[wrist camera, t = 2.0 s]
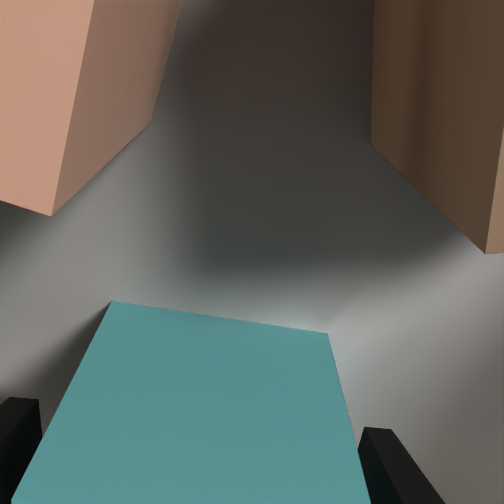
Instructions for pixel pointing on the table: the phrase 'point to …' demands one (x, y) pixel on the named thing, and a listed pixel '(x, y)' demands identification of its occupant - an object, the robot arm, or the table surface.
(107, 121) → the terracotta cube
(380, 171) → the table surface
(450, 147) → the walnut cube
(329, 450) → the teal cube
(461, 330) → the table surface
